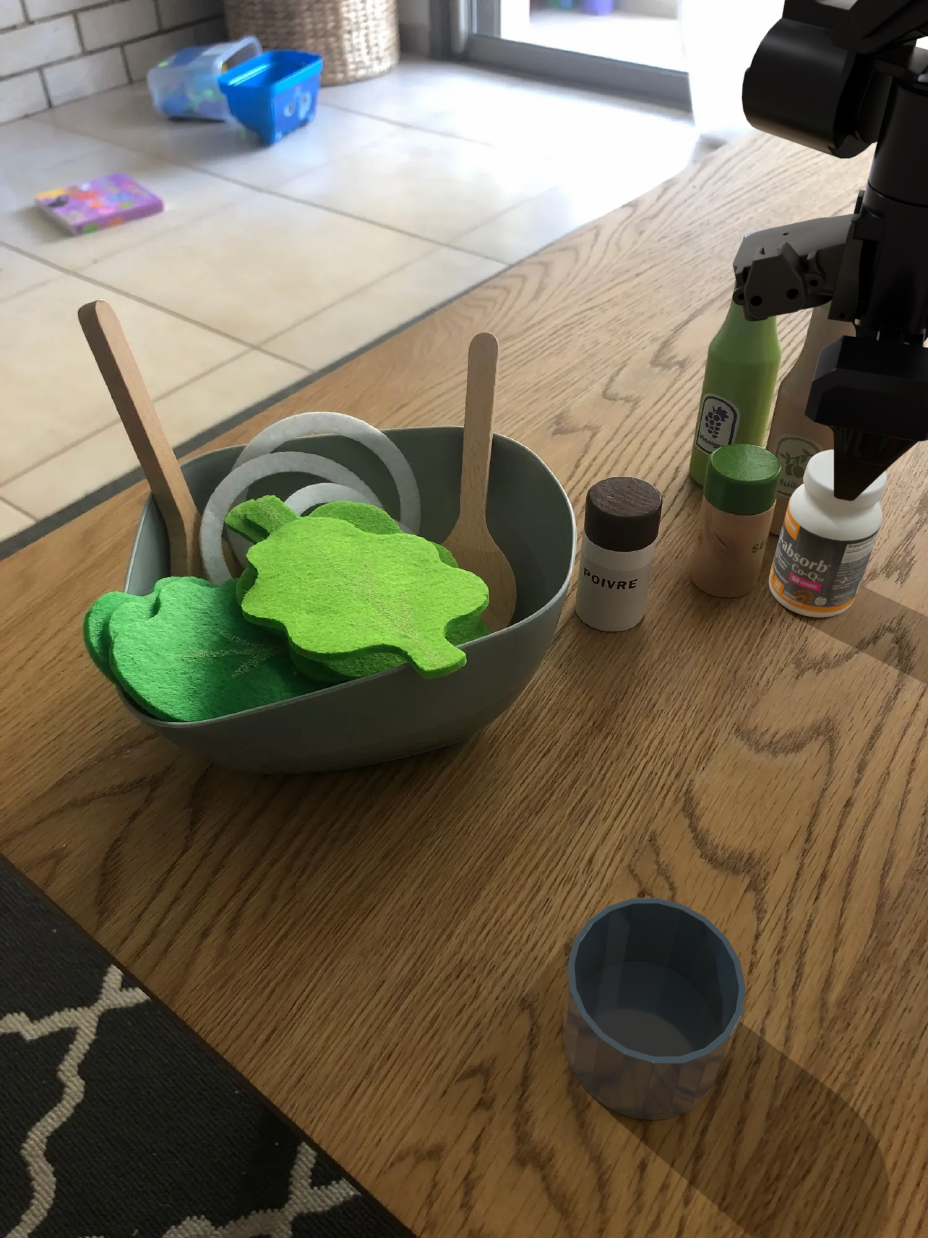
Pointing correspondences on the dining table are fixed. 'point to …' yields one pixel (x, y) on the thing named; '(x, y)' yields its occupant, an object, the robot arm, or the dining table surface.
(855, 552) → the pill bottle
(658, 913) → the pot
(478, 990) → the dining table surface
